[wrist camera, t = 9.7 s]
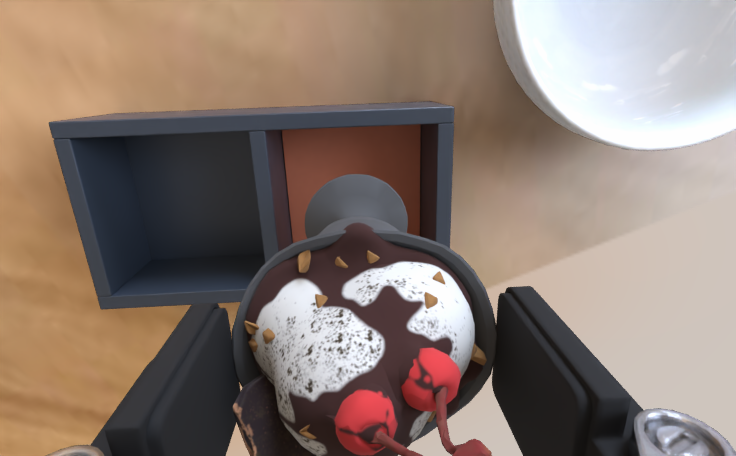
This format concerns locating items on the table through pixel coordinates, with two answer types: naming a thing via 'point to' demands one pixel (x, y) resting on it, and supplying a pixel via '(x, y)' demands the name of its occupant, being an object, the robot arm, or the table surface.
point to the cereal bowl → (626, 67)
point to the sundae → (359, 334)
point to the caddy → (235, 188)
